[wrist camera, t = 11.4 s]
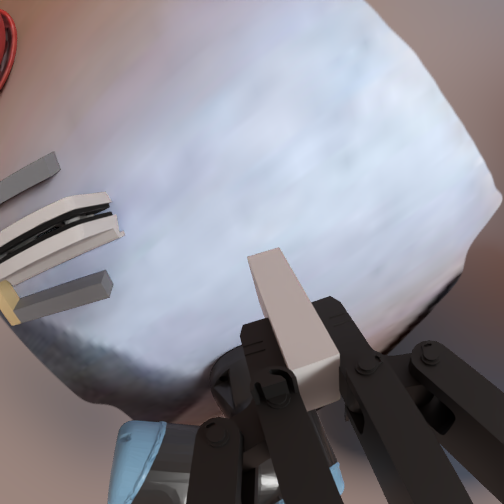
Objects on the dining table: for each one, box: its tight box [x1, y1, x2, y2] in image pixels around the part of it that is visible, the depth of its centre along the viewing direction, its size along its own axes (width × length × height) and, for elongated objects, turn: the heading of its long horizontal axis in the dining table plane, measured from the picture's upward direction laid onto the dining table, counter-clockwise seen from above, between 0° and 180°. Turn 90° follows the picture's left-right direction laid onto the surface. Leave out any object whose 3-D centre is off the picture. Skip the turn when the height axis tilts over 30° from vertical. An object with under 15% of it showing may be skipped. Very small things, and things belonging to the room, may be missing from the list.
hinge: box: [0, 192, 125, 286], centre depth 24 cm, size 17×5×10 cm, turn 106°
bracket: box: [0, 152, 113, 326], centre depth 27 cm, size 16×16×2 cm
